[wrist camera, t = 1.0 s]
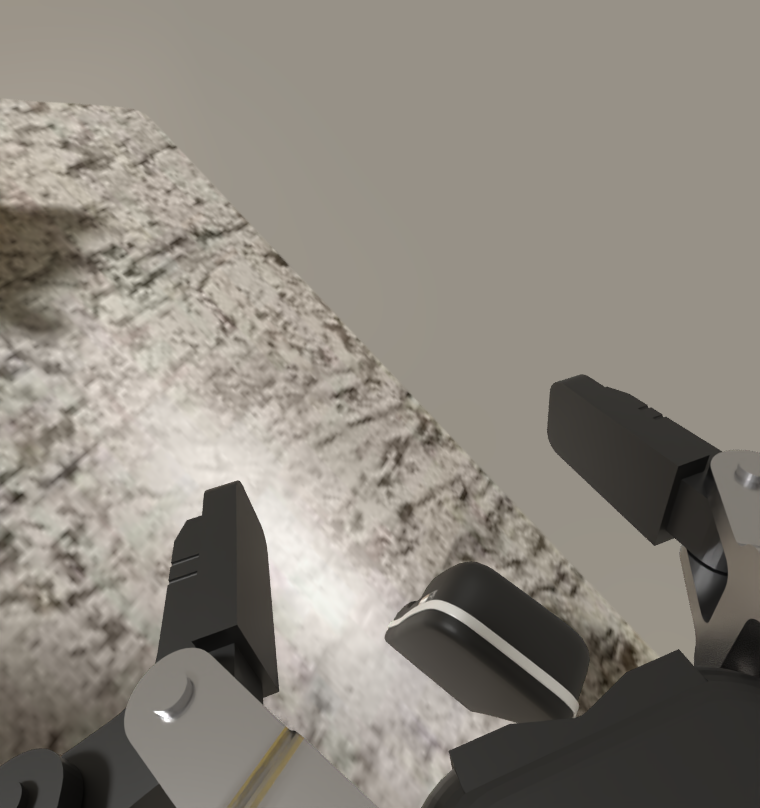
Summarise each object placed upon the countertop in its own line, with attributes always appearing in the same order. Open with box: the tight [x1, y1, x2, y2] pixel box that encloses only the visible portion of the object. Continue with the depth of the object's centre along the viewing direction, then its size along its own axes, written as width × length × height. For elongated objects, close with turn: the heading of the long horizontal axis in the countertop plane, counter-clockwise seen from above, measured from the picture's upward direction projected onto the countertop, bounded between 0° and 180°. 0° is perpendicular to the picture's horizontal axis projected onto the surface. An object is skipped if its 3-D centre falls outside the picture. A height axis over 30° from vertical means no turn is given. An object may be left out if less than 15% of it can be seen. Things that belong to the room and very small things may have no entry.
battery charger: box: [385, 561, 590, 723], centre depth 22 cm, size 7×4×11 cm, turn 55°
